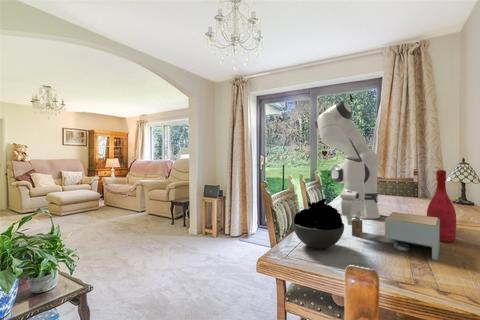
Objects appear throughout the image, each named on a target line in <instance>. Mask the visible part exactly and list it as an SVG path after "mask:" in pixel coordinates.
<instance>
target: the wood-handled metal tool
mask: <svg viewBox="0 0 480 320" xmlns="http://www.w3.org/2000/svg"><path fill="white" fill-rule="evenodd" d="M352 221H353V224H352V225H351V236H352V237H358V238H363V239H368V240H372V241H379V242H383V243H388V244H392V245H394V243H399V241H398V240H396V239H391V238H386V237H385V235H380V234H374V233H370V232H368V233H367V232H363V219H360V220H358V219H355V218H352Z"/></svg>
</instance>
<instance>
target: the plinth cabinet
mask: <svg viewBox="0 0 480 320" xmlns="http://www.w3.org/2000/svg"><path fill="white" fill-rule="evenodd" d="M439 231H440V219H438V218H437V217H429V216H427V215H420V214H412V213H405V212H398V211H397V212H396V211H395V212H394V211H392V212H391V213H389V215H388V216H387V217H386V218H385V219H384V236H385V237H386V238H391V239H396V240H398V242H399V243H404V244H411V245H415V246H419V247H420V246H421V247H427V248H431V259H432V260H435V261H438V259H439V255H440V253H439V252H440V241H439Z"/></svg>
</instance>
